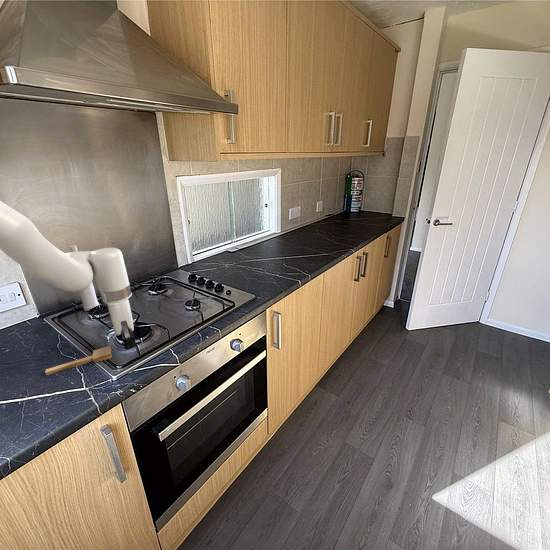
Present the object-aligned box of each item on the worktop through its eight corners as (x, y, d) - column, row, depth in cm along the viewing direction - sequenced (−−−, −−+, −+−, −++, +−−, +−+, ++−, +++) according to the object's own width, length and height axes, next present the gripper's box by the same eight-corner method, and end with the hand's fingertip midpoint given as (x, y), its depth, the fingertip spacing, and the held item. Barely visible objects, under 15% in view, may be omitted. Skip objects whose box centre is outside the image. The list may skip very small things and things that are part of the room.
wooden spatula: (45, 378, 77) (43, 374, 77) (47, 369, 81) (45, 364, 80) (111, 358, 84) (110, 353, 84) (111, 349, 88) (109, 345, 87)
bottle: (100, 309, 111) (81, 246, 101) (84, 313, 108) (63, 249, 98) (99, 304, 115) (80, 242, 105) (84, 308, 112) (63, 245, 102)
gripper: (99, 285, 85) (115, 338, 93) (101, 307, 73) (118, 365, 81) (128, 280, 89) (140, 330, 96) (133, 299, 77) (147, 356, 84)
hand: (130, 346), depth 88 cm, fingers closed
